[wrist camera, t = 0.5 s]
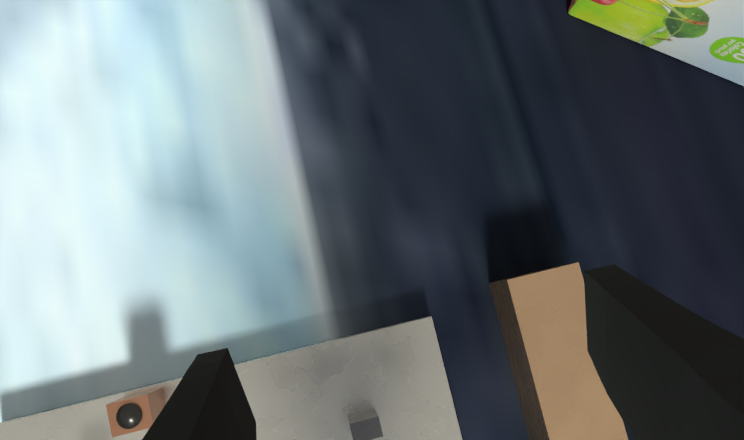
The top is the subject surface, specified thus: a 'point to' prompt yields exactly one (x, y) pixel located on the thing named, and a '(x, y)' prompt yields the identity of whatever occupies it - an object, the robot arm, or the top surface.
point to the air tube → (554, 356)
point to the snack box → (677, 29)
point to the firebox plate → (296, 395)
